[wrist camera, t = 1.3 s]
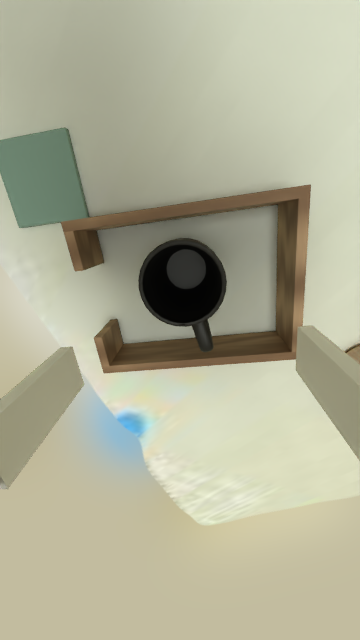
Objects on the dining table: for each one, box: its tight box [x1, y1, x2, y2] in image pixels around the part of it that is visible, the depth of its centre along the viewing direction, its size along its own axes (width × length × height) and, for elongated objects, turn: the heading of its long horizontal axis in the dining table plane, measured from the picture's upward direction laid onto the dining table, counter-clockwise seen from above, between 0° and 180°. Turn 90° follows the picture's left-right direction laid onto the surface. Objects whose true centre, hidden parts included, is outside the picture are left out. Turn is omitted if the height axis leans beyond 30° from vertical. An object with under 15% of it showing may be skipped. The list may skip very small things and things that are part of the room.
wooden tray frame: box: [61, 185, 311, 373], centre depth 29 cm, size 18×24×6 cm
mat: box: [0, 128, 89, 228], centre depth 28 cm, size 9×9×1 cm
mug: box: [139, 238, 227, 352], centre depth 27 cm, size 8×12×10 cm
